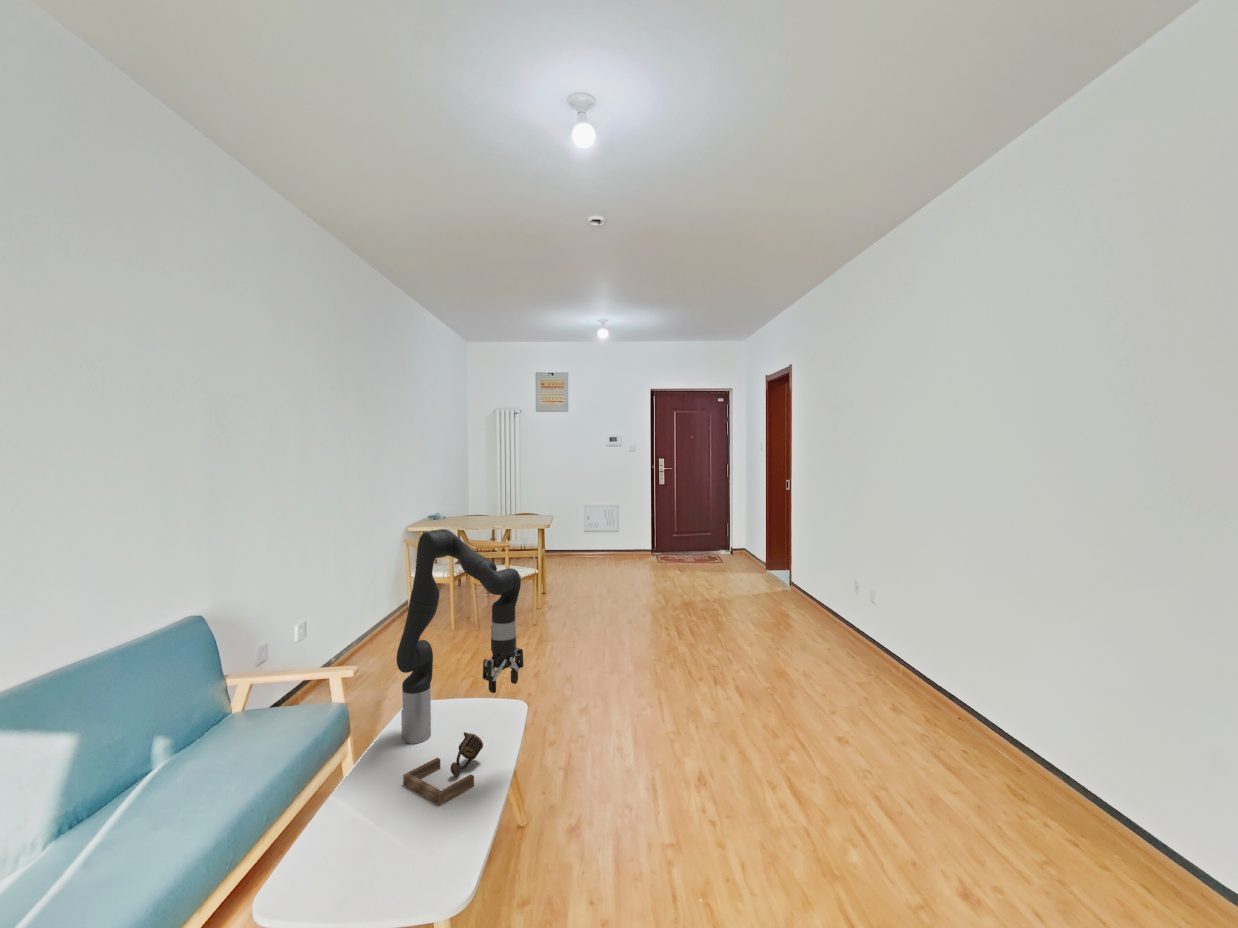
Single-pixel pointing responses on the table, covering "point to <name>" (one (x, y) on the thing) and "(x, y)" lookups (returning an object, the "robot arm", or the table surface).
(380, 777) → the table surface
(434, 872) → the table surface
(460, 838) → the table surface
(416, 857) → the table surface
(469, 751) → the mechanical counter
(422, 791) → the bracket
